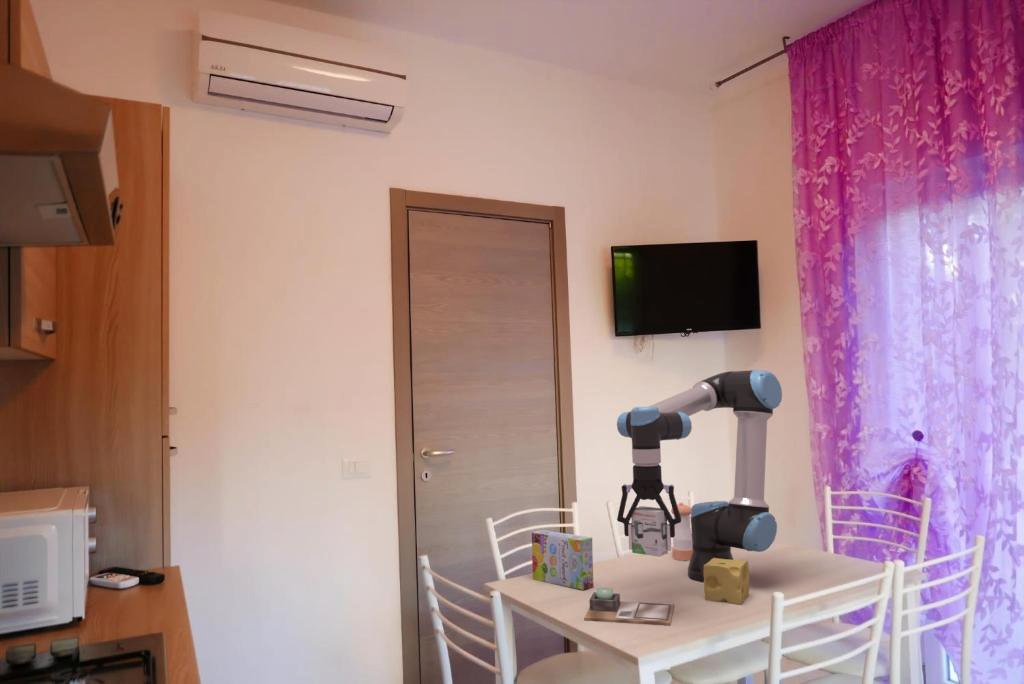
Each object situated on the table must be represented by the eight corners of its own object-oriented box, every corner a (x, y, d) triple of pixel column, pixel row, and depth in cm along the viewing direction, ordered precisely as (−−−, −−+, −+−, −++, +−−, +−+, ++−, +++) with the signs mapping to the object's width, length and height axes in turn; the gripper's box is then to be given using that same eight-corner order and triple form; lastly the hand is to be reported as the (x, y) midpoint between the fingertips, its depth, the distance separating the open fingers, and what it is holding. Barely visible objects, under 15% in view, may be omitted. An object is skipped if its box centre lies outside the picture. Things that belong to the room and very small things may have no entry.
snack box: (595, 587, 218) (593, 536, 219) (583, 591, 214) (581, 539, 215) (543, 575, 233) (541, 528, 234) (531, 579, 229) (530, 531, 230)
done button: (614, 599, 198) (613, 588, 198) (611, 603, 194) (611, 592, 194) (598, 598, 199) (597, 587, 199) (595, 603, 195) (595, 591, 195)
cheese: (741, 605, 196) (739, 568, 197) (702, 600, 202) (700, 564, 203) (750, 595, 205) (749, 560, 206) (713, 590, 211) (711, 556, 212)
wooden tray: (673, 606, 197) (673, 593, 197) (670, 625, 182) (669, 611, 182) (594, 602, 203) (593, 589, 203) (584, 620, 188) (583, 606, 188)
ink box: (631, 553, 193) (629, 508, 193) (640, 549, 196) (638, 505, 197) (660, 557, 187) (658, 511, 188) (669, 553, 191) (667, 508, 192)
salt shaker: (672, 555, 255) (669, 501, 256) (693, 555, 254) (690, 501, 255) (673, 560, 248) (671, 504, 249) (695, 560, 247) (692, 504, 248)
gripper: (689, 462, 194) (693, 547, 192) (607, 462, 200) (610, 544, 198) (688, 466, 187) (692, 553, 185) (603, 465, 193) (606, 550, 191)
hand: (650, 549), depth 192 cm, fingers closed on ink box, 9 cm apart
